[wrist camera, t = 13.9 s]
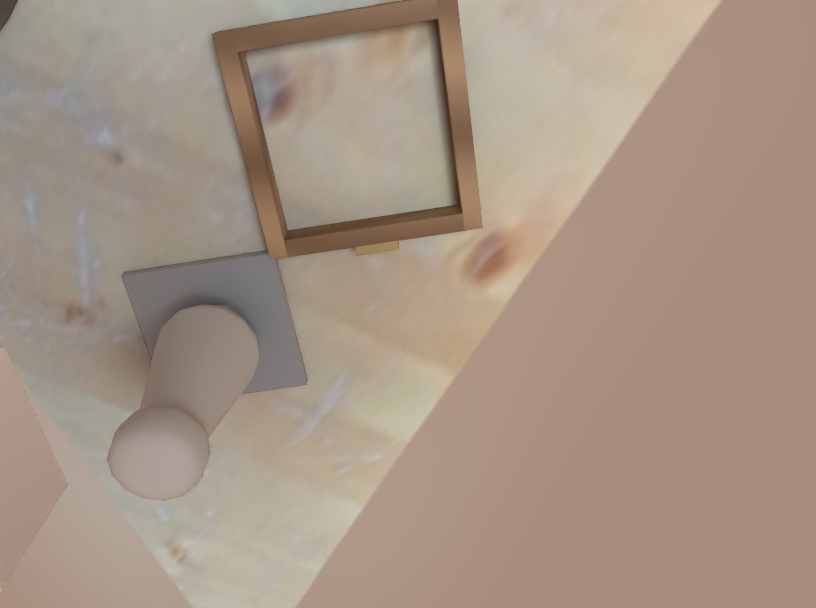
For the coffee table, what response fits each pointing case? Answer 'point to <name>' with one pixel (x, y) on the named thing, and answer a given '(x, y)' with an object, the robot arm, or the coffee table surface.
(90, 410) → the coffee table surface
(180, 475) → the salt shaker
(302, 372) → the coaster
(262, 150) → the brown wooden frame
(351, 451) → the coffee table surface
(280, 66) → the coffee table surface
